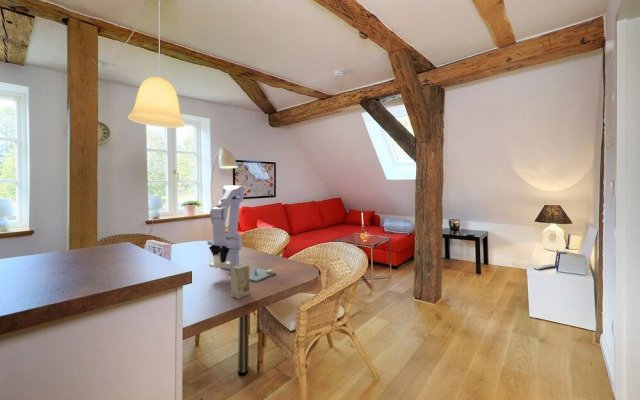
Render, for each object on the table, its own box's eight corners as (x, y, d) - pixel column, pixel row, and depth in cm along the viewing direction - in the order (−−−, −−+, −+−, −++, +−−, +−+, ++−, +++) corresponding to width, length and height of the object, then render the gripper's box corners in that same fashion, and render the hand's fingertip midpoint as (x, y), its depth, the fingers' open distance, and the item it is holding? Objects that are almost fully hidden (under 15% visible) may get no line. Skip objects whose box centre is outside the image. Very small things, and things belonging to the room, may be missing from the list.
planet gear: (206, 266, 142) (206, 255, 142) (221, 261, 150) (220, 251, 149) (219, 269, 138) (219, 258, 137) (233, 264, 145) (233, 253, 145)
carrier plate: (234, 277, 146) (234, 269, 146) (254, 269, 158) (254, 262, 158) (256, 282, 139) (256, 274, 139) (275, 273, 151) (275, 266, 151)
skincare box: (238, 299, 120) (237, 268, 119) (230, 297, 122) (229, 267, 121) (250, 293, 125) (249, 264, 125) (242, 291, 128) (241, 263, 127)
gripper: (201, 232, 143) (202, 261, 144) (223, 235, 135) (224, 265, 136) (213, 230, 149) (214, 257, 150) (235, 233, 141) (236, 261, 142)
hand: (220, 261), depth 143 cm, fingers closed on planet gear, 4 cm apart
